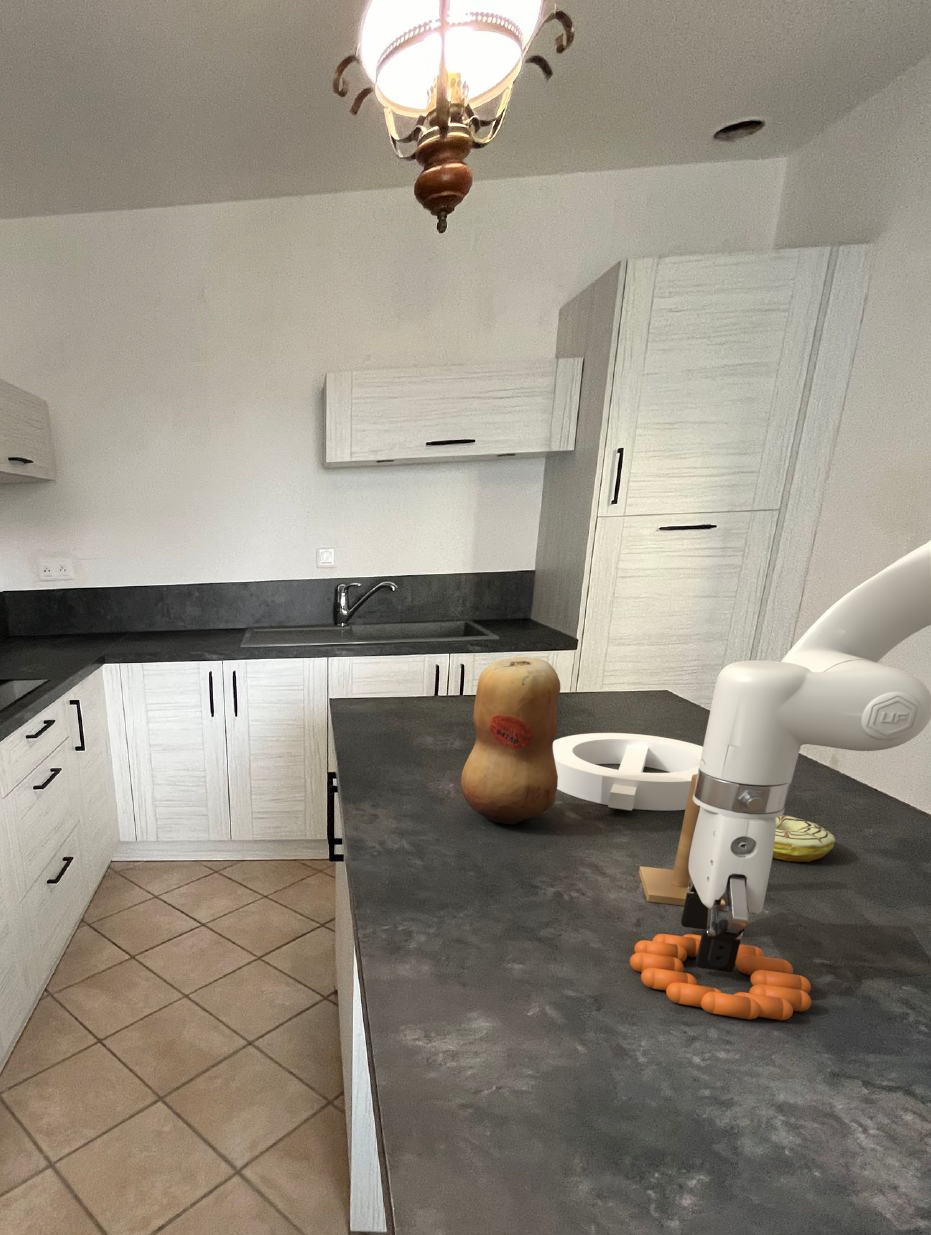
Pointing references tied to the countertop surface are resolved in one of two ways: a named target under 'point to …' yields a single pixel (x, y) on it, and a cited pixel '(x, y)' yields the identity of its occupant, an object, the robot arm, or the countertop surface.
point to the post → (675, 882)
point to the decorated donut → (800, 840)
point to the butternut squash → (513, 741)
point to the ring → (766, 998)
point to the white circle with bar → (627, 769)
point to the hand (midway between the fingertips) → (705, 946)
